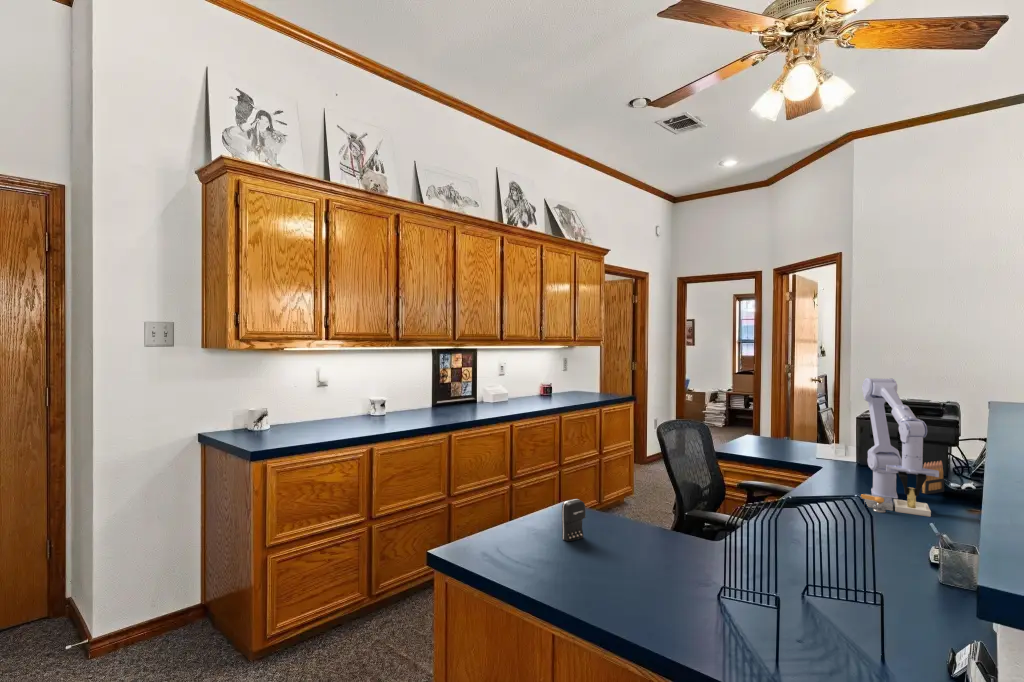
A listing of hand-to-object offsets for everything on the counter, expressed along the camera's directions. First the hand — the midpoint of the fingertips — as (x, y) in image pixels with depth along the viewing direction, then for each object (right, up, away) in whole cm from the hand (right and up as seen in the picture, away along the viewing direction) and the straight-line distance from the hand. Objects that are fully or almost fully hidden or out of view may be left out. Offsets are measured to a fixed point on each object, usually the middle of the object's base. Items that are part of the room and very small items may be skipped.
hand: (911, 494), depth 187 cm
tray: (0, -5, 0) cm, 5 cm away
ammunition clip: (+23, -5, +21) cm, 32 cm away
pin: (0, -4, 0) cm, 4 cm away
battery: (-120, -6, -26) cm, 122 cm away
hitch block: (-9, -5, +3) cm, 11 cm away
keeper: (-13, -2, +1) cm, 13 cm away
